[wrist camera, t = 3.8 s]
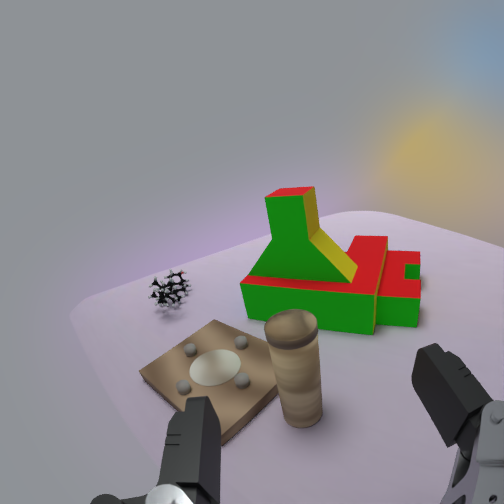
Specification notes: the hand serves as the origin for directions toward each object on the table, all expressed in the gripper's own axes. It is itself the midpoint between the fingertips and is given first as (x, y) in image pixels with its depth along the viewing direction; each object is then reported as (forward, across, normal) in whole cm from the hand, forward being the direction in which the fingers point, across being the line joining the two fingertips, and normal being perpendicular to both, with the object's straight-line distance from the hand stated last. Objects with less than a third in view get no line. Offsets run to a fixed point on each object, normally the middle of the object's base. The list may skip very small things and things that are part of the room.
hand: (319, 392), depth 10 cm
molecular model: (+41, +18, +17) cm, 48 cm away
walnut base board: (+19, +9, +17) cm, 27 cm away
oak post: (+12, 0, +17) cm, 21 cm away
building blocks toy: (+32, -11, +17) cm, 38 cm away
